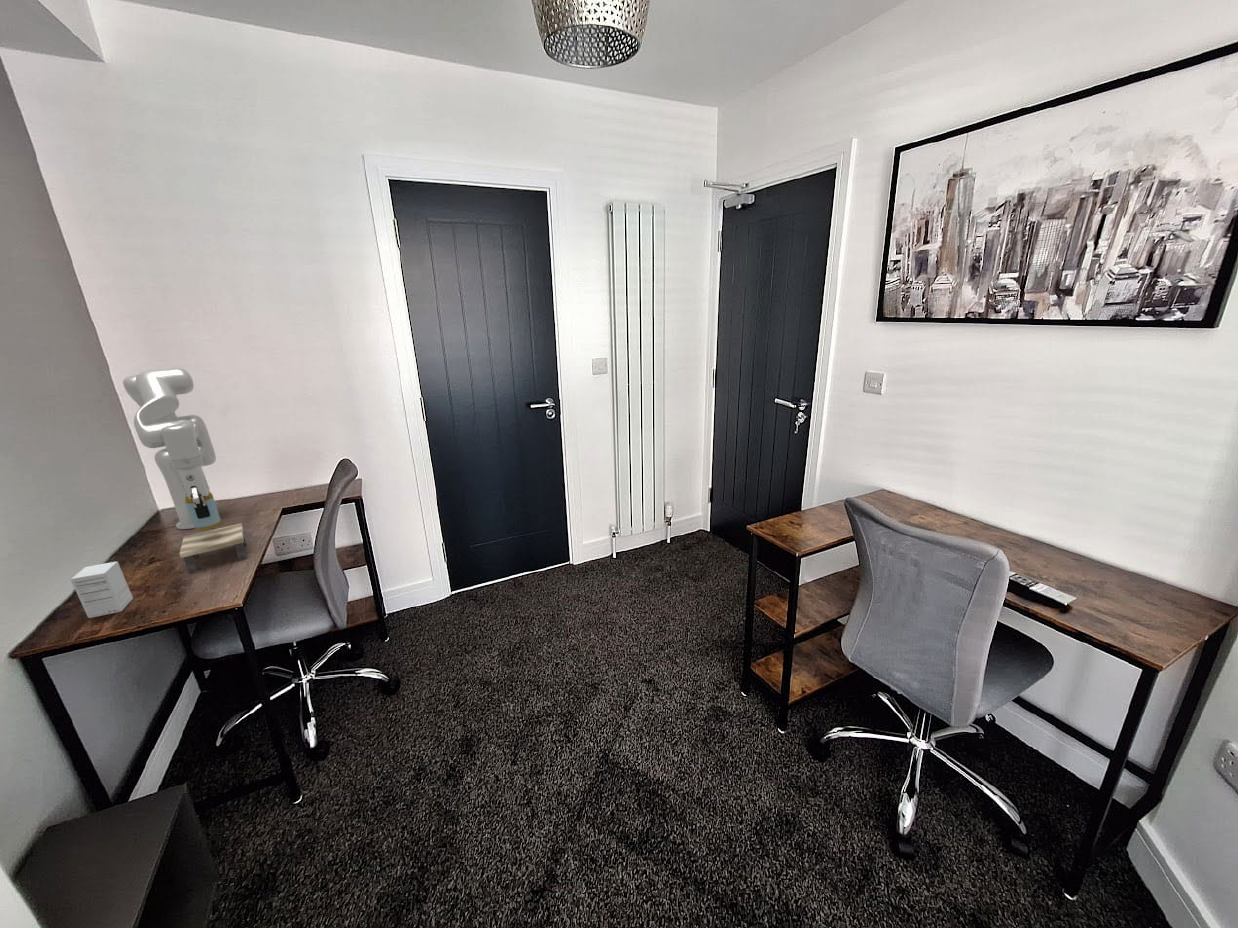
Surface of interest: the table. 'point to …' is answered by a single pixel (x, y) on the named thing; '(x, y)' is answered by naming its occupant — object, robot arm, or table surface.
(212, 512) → the bottle
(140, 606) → the table surface
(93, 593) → the supplement box
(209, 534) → the footstool
